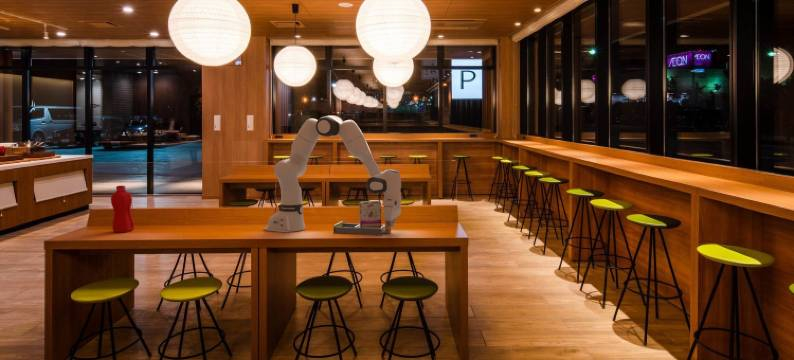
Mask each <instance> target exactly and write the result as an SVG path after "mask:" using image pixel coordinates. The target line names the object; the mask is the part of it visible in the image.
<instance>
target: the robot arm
mask: <svg viewBox="0 0 794 360" xmlns="http://www.w3.org/2000/svg"><path fill="white" fill-rule="evenodd" d="M336 136H338V137H340V139H341V140H342V142H343V144H344V146H345V148H346V150H347V152H348V153H349V154H350V155H351V156H352V157H353V158H356V159H358V160H359V161H361V163H363V165H364V168H365V169H366V171H367V173H368V174H369V176H370V177H369V178H367V180H366V184H365V187H366V190H367V191H368V193H370V194H373V195H379V194H383V200H382V203H381V207H383V208H382V209H383V210H382V211H383V220H384V221H390V226H391V228H392V227H395V226H396V221H397V220H396V219H397V217H398V216H400V215H401V212H402V211H401V205H402V192H401V189H402V176H401V172H400V171H398V170H396V169H390V168H389V169H385V170H384V171H382V170H381V168H380V166H379V165H378V163H377V161H376V159H375V157H374V156H373V154H372V152H371V149H370V147H369V145H368V143H367V140H366V138H365V135H364V133H363V132H362V130H361V129H360V127H359V126H358V124H357V123H356V122H355V121H354V120H352V119H347V120H343V118H342V117H341V116H338V115H333V114H332V115H330V114H329V115H325V116H322V117H320V118H318V119H316V118H311V117H310V118H308V119H306V120H305V122H303V124H302V126H301V127H300V128H299V130H298V132H297V134H296V136H295V138H294V140H293V142H292V143H291V146H290V147H291V151H290V154H289V156H288V158H286V159H280V160H279V161H278V162H277V163H276V164H274V167H273V173H274V175H275V176H276V178H277V180H278V183H279V187H280V195H281V197H280V198H281V199H280V200H281V202H280V204H279V205H277V209H278V211H276V212H275V213H274V214H273V215H271V217H269V218H268V223H267V225H266V226H265V227H263V230H264V231H267V232H268V231H270V232H277V233H279V232H280V233H290V232H300V231H304V230H306V225H305V219H304V204H303V195H302V193H303V191H302V188H301V186H300V184H299V181H298V180H299V179H298V178H300V177H302V176H303V175H304V174H305V173H306V172H307V168H308V161H309V159H310V156H311V155H312V152H313V151H314V149H315V146H316V144H317V142H318V141H319V139H320V137H324V138H329V137H331V138H332V137H336Z"/></svg>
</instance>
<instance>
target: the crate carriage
mask: <svg viewBox="0 0 794 360" xmlns="http://www.w3.org/2000/svg"><path fill="white" fill-rule="evenodd" d="M384 221H385V220H384ZM358 224H359V225H357V226H355V228H361V227H360V223H358ZM362 228H367V229H382V234H384V233H385V234H391V233H392V227H391V226H390V221H385V222H384V224H381V228H371V227H362Z"/></svg>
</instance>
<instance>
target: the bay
mask: <svg viewBox="0 0 794 360" xmlns="http://www.w3.org/2000/svg"><path fill="white" fill-rule="evenodd" d="M359 224H360V223H354V222H353V223H352V222H351V223H350V222H344V220H340V221H339V222H338V223H335V224H333V233H335V234H337V233H338V234H350V233H355V235H367V236H368V235H372V236H383V233H382V229H367V228H355V226H357V225H359Z"/></svg>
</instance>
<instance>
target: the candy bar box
mask: <svg viewBox="0 0 794 360" xmlns="http://www.w3.org/2000/svg"><path fill="white" fill-rule="evenodd" d="M358 205H359V208H358V209H359V224H360V227H361V228H362V227H371V228H381V225H382V203H381V201H380V200H369V201H368V200H367V201H365V200H364V201H359V204H358Z"/></svg>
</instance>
